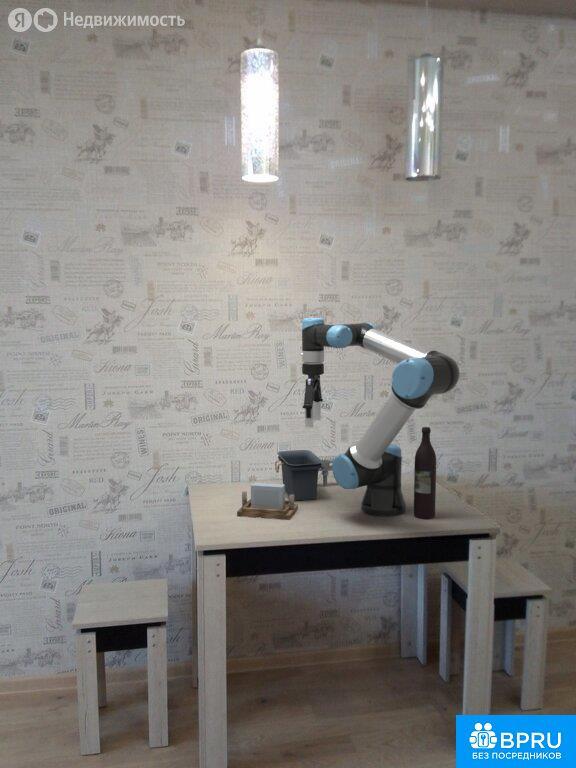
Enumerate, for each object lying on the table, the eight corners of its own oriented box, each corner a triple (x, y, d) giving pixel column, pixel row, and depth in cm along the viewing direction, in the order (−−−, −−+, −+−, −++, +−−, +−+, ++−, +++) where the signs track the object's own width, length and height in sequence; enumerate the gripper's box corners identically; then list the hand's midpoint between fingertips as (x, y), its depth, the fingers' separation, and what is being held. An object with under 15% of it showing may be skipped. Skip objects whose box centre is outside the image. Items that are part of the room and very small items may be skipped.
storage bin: (325, 501, 268) (325, 462, 266) (283, 504, 264) (283, 464, 262) (309, 485, 288) (309, 449, 287) (269, 488, 285) (269, 451, 283)
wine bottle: (409, 514, 252) (411, 426, 248) (427, 512, 255) (429, 425, 251) (420, 520, 246) (422, 430, 242) (439, 518, 248) (441, 428, 244)
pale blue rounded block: (285, 507, 256) (284, 484, 255) (282, 510, 252) (282, 487, 251) (253, 505, 258) (253, 482, 257) (251, 508, 255) (250, 485, 253)
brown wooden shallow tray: (298, 508, 259) (298, 490, 259) (289, 519, 247) (289, 500, 246) (247, 505, 264) (247, 487, 263) (236, 516, 251) (236, 497, 250)
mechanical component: (311, 485, 289) (311, 460, 287) (337, 484, 290) (337, 458, 289) (312, 487, 286) (312, 461, 284) (339, 486, 288) (339, 460, 286)
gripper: (309, 359, 271) (309, 417, 274) (294, 366, 247) (294, 429, 250) (329, 359, 269) (329, 417, 272) (317, 367, 245) (316, 430, 248)
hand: (313, 423), depth 261 cm, fingers open, 13 cm apart
